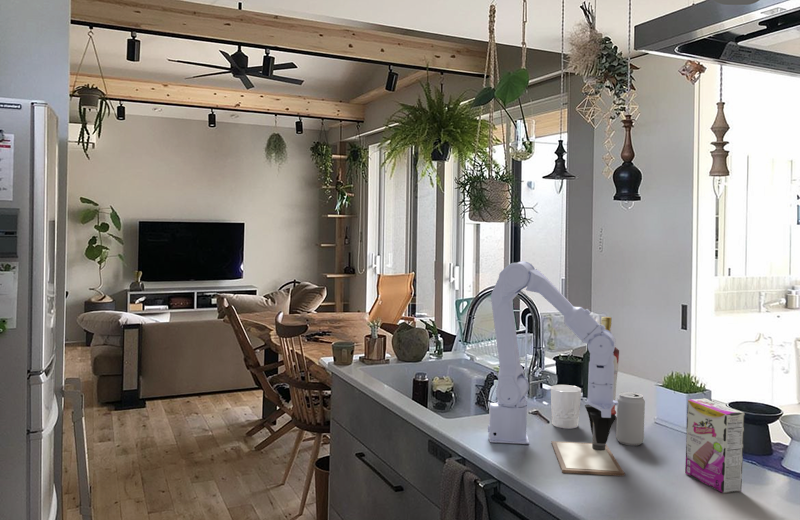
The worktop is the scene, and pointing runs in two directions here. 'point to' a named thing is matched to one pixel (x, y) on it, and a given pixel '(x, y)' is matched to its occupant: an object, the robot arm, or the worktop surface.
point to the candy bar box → (715, 444)
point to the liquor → (607, 323)
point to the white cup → (565, 405)
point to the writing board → (585, 459)
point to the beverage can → (630, 418)
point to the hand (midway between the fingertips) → (599, 439)
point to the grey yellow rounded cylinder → (597, 445)
